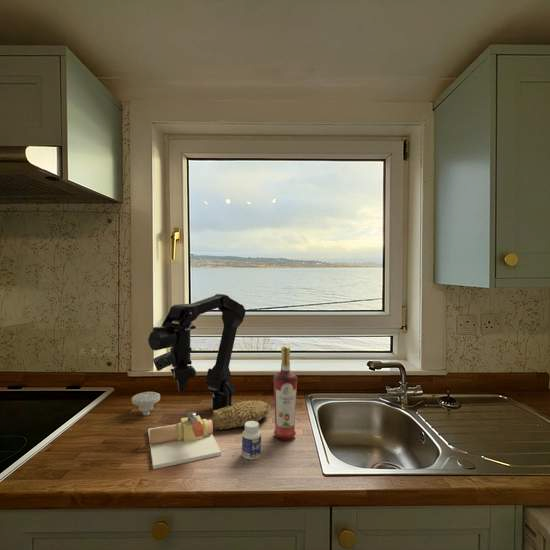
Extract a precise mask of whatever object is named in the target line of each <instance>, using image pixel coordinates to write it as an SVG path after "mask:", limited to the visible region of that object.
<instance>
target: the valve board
mask: <svg viewBox="0 0 550 550" xmlns="http://www.w3.org/2000/svg"><path fill="white" fill-rule="evenodd" d="M196 418H197V420H198V421H200V422H201V424H202V426H203V428H204V436H200V437H195V434H194V432H193V430H192V423H191V421H189V420H188V419H187V416H186V417H181V418H180V422H178V423H175V424H169V425H165V426H164V425H163V426H158V427H150V428H148V429H147V433H148V434H147V435H148V440H149V441H148V442H149V447H150V455H151V462H152V463H151V464H152V470H156V469H161V468H166V467H170V466H171V467H172V466H177V465H180V464H181V465H182V464H186V463H190V462H195V461H200V460H205V459H209V458H213V457H214V458H215V457H220V456H222V451H221V449H220V447H219V445H218V443H217V441H216V439H215V437H214V435H213V432H214V426H213V419H206V418H201V416H200V415H199V414H198V415H196Z"/></svg>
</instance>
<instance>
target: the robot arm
mask: <svg viewBox="0 0 550 550" xmlns="http://www.w3.org/2000/svg"><path fill="white" fill-rule="evenodd" d="M216 309H217V310H218V311H219V312H221V320H222V323H223V329H222V333H221V338H220V341H219V347H218V352H217V356H216V360H215V365H213V366H212V367H211V368H208V369H207V375H206V377H205V380H206V383H205V384H206V387H207V389H208V392H209V393H212V396H211V398H210V408H211V410H212V412H213V411H214V410H218V409H221V408H223V407H226V406H229V407H230V406H232V397H233V395H235V394H236V390H237V388H236V386H235V385H234V384H233V383H232V382H231V381H232V373H231V371H230V363H231V358H232V354H233V349H234V344H235V341H236V334H237V331H238V330H237V329H238V328H239V327H240V326H241V325H242V323H243V322H244V319H245V316H246V308H245V306H244V305H243V304H240V302H238V301H237V300H235V299H233V298H231V297H230V296H229V295H227V294H222V293H216V294H214V295H211V296H209V297H207V298H203V299H201V300H198V301H195V302H192V303H180V304H174V305H172V306H170V309H169V312H168V313H167V315H166V317H165V319H164V320H163V322H162V324H161V326H155V327H152V331H151V332H150V333H149V336H148V345H149V347H150V349H151V350H152V351H153V352H154V351H160V350H165V349H168V348H169V351H168V352H166V353H162V354H160V355H158V356H156V357H154V358H153V359H152V361H153V364H154V366H155V369H156V371H157V372H160V371H162V370H163V369H165V368H168V367H169V366H170V367H172V368H170V372H171V373H172V376H173V378H174V380H175V381H176V382H177V387H178V392H179V394H182V393H184V391H185V390H186V388H187V385H188V383H189V380H190V379H195V378H196V377H197V371H196V369H195V367H194V366H192V363H193V362H192V360H191V352H192V347H191V330H194V329H196V328H197V326H196V325H195V324H193V322H194V321H195V320H197V319H198V317H199V316H200V315H202V314H205V313H207V312H208V313H209V312H210V311H213V310H216Z"/></svg>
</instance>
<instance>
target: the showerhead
mask: <svg viewBox="0 0 550 550" xmlns="http://www.w3.org/2000/svg"><path fill="white" fill-rule="evenodd" d="M160 400H161V394H160V393H158V392H155V391H144V392H140V393H139V392H138V393H137V394H134V395H133V396H132V397H131V403H132V404H133V405H135V406H138V410H139V411H140V412H142V415H143V416H149V415H150V411H152V410H153V409H154V404H156V403H158V402H159V401H160Z"/></svg>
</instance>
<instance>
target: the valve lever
mask: <svg viewBox="0 0 550 550" xmlns="http://www.w3.org/2000/svg"><path fill="white" fill-rule="evenodd" d="M196 416H197V412H196V411H189V412H187V415H186V417H187V419H188V420H189V421H191V423H192V430H193V432H194V434H195V437H200V436H204V428H203V426H202V424H201V422H200V421H198V420H197V418H196Z"/></svg>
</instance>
